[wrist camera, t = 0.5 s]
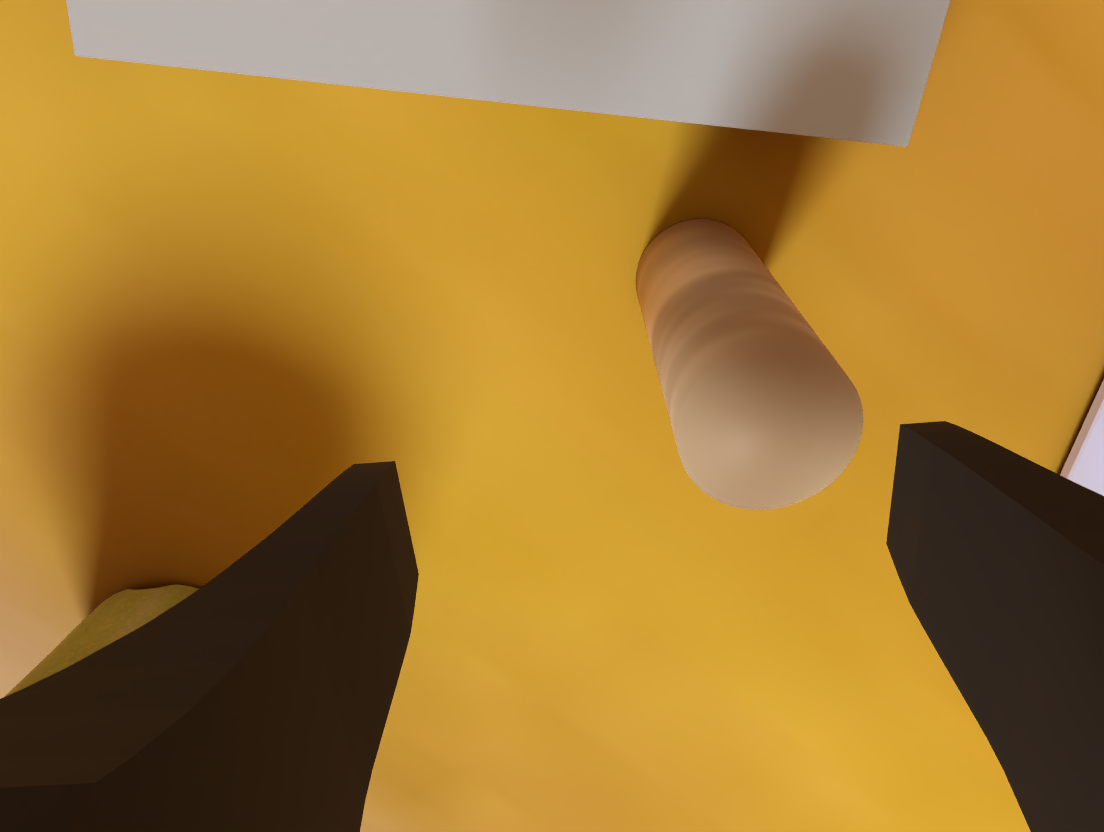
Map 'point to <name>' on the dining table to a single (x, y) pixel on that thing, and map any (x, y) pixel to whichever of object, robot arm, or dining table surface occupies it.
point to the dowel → (742, 371)
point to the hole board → (565, 53)
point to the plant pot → (107, 627)
